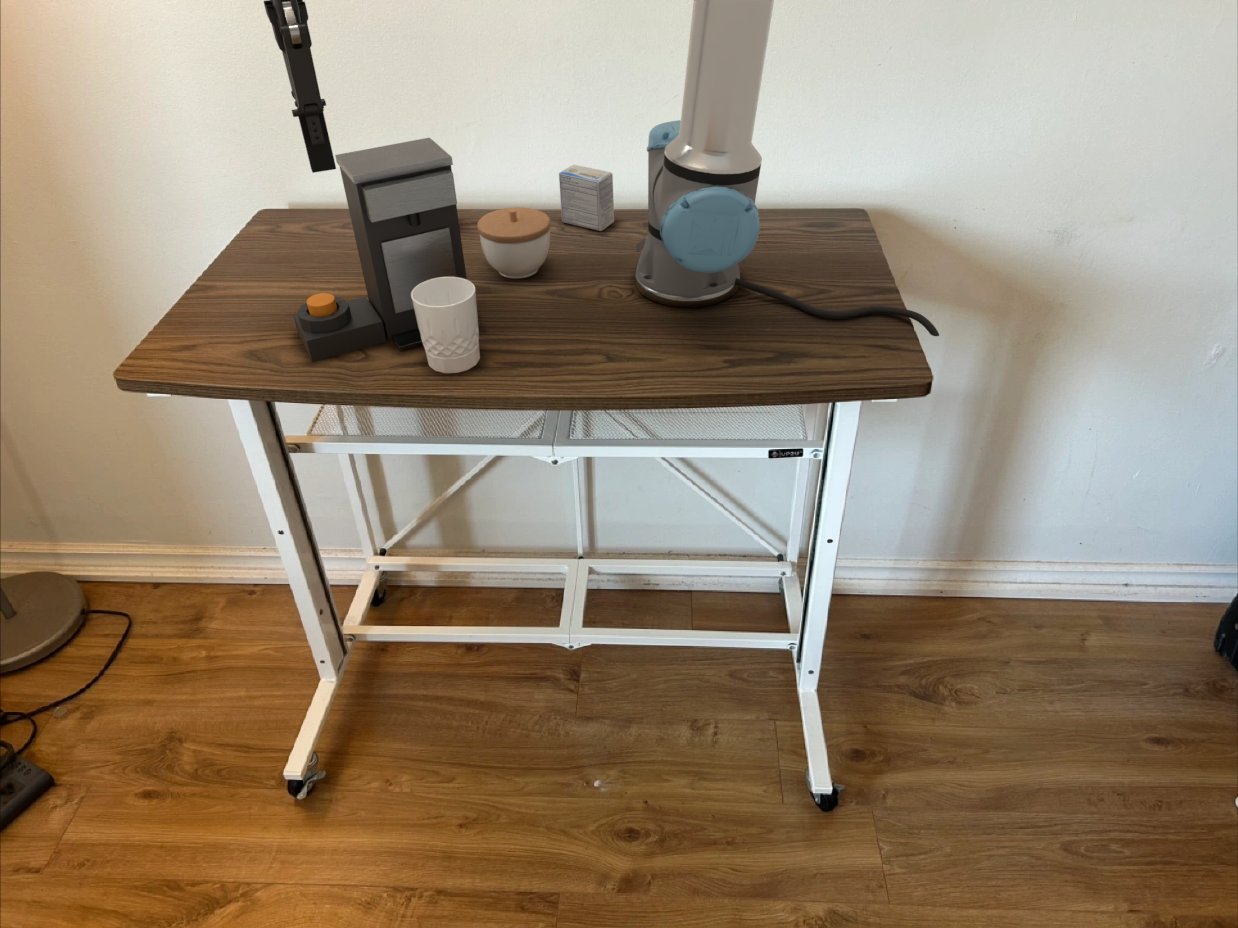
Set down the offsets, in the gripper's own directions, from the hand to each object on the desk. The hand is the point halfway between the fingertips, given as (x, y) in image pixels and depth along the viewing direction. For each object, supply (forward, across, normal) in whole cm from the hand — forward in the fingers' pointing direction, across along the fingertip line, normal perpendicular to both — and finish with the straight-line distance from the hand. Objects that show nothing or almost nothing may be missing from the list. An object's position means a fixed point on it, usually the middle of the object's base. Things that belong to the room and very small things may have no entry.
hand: (323, 168), depth 104 cm
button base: (+24, -3, -3) cm, 24 cm away
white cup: (+24, +8, +10) cm, 28 cm away
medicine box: (+25, -25, +41) cm, 54 cm away
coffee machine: (+24, -3, +9) cm, 26 cm away
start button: (+19, -3, -4) cm, 20 cm away
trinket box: (+24, -13, +25) cm, 38 cm away
